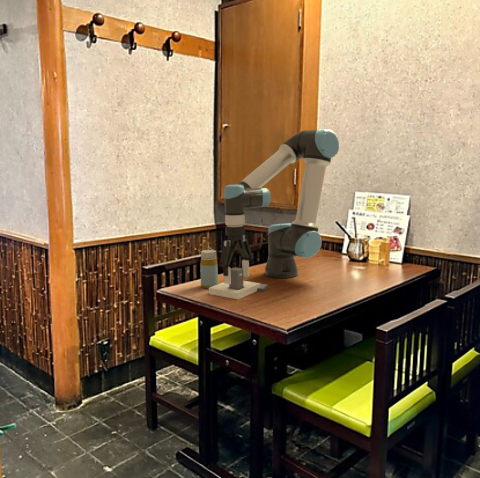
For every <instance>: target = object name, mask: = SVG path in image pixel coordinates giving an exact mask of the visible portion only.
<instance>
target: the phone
mask: <svg viewBox="0 0 480 478" xmlns="http://www.w3.org/2000/svg"><path fill="white" fill-rule="evenodd" d="M268 288H269V284H267V283H266V284H265V283H264V284H263V283H261V287H259V288H257V291H256V292H265V291H266V290H267V289H268Z"/></svg>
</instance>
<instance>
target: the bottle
mask: <svg viewBox="0 0 480 478" xmlns="http://www.w3.org/2000/svg"><path fill="white" fill-rule="evenodd" d="M200 258H201V259H200V264H199V265H200V266H199V267H200V286H201V288H203V289H208V290H209V288H210V287H212V286H215V285H218V284H219V280H218V279H219V278H218V277H219V276H218V272H219V271H218V261H217V250H214V249H204V250H201V251H200Z"/></svg>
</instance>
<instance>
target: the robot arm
mask: <svg viewBox="0 0 480 478" xmlns="http://www.w3.org/2000/svg"><path fill="white" fill-rule="evenodd" d="M278 147H279V148H278V150H277V151H276V152H275V153H273V154H272V155H271V156H270V157H269V158H267V159H266V160H265V161H264V162H262V164H260V165H259V166H258V167H257V168H256V169H254V170H253V171H251V172H250V173H249V174H248V175H247V176H245V178H243V179H242V180H241V181H240V182H238V183H237V184H228V185H225V186H224V190H223V191H224V192H223V199H224V219H225V224H224V225H226V226H225V227H224V228H225V236H227V240H223V241H222V248H221V254H220V258H219V264H218V266H219V267H220V268H222V271H223V282H224V283H225V284H231V270H230V269H231V267H230V265H231V262H232V259H233V256H234V253H236V251H237V250H238V251H239V254H240V256H241V258H242V259H241V266H242V267H241V268H243V277H250V261H251V260H252V258H253V253H252V250H251V247H250V243H249V237H248V235H246V226H245V224H246V218H245V217H246V216H245V213H246V212H245V210H246V209H247V210H248V209H256V208H263V207H264V208H265V207H268V206H269V205H270V203H271V200H272V195H271V191H270V190H269V189H268V188H267V187H264V186H265V185H266V184H268V182H270V181H271V180H272V179H273V178H274V177H276V176H277V175H278V174H279V173H280V172H282V171H283V170H284V169H285V168H286V167H287V166H288V165H290V164H294V163H296V162H297V161H299V160H301V159H302V160H303V162H304V164H305V166H304V171H303V176H302V182H301V189H300V194H299V200H298V205H297V211H296V215H295V216H296V217H295V220H294V221H292V222H291V223H290V222H288V223H278V224H277V223H275V224H270V225H269V226H268V230H267V241H268V258H267V262H266V264H265V267H264V276H266V277H269V278H275V279H289V278H294V277H296V276H299V268H298V265H297V262H296V259H295V256H296V257H299V258H306V259H309V258H310V259H311V258H312V257H314V256H315V255H317V254H318V253H319V251H320V250H321V248H322V242H323V241H322V237H321V236H322V235H321V234H320V233H319V225H318V224H317V217H318V212H319V207H320V201H321V196H322V191H323V184H324V179H325V173H326V168H327V167H328V166H330V164H331V160H332V158H334V157H335V156H336V155H338V152H339V149H340V141H339V137H337V134H336V133H335V132H334V131H333V130H332V129H327V128H325V129H324V128H319V129H308V130H307V129H306V130H301V131H299V132H296V133H295V134H293V135H291V137H289V138H288V139H287V140H286V141H284V142H283V143H282V144H281V145H280V146H278Z"/></svg>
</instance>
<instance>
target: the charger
mask: <svg viewBox="0 0 480 478" xmlns="http://www.w3.org/2000/svg"><path fill="white" fill-rule="evenodd" d="M230 270H231V284H229V289H234V290H240V289H242V288H243V281H244V276H243V268H242V267H232V268H230Z"/></svg>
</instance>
